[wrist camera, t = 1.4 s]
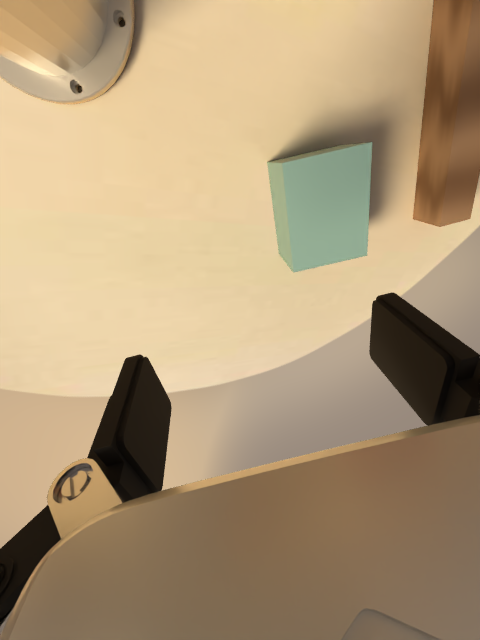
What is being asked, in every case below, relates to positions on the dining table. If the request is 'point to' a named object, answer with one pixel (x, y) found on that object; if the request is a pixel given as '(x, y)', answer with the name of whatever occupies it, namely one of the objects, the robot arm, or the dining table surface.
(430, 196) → the batten
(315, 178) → the block
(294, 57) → the dining table surface
